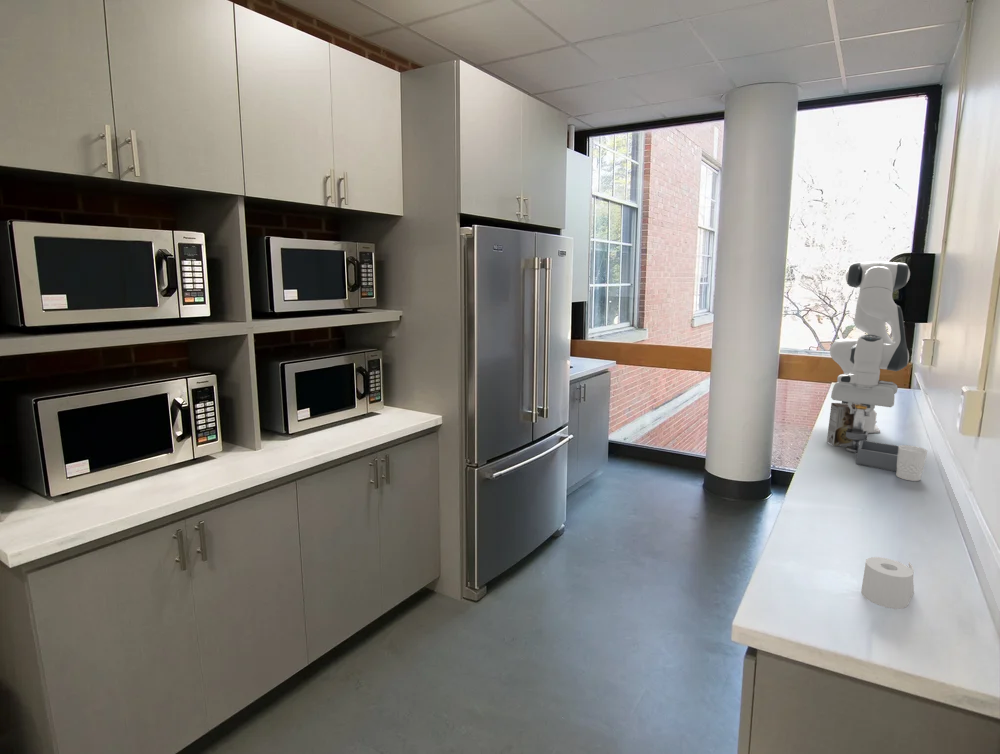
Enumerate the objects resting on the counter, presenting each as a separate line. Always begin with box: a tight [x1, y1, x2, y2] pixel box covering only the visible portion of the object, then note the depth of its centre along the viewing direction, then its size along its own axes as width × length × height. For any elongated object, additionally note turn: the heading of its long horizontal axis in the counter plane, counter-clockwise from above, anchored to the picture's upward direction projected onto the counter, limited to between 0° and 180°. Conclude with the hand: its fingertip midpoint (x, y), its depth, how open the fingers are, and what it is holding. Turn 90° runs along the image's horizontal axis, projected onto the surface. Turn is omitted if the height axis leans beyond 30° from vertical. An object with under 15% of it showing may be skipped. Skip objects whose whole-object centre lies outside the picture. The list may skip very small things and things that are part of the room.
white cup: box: [895, 444, 928, 482], centre depth 193 cm, size 8×8×10 cm
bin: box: [855, 440, 899, 472], centre depth 207 cm, size 15×15×6 cm
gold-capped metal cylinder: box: [851, 404, 867, 434], centre depth 220 cm, size 4×4×12 cm
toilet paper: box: [860, 556, 915, 610], centre depth 121 cm, size 8×11×7 cm
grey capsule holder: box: [845, 428, 869, 454], centre depth 221 cm, size 7×7×8 cm
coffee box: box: [826, 402, 856, 447], centre depth 229 cm, size 9×6×16 cm
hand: (859, 415), depth 219 cm, fingers closed on gold-capped metal cylinder, 4 cm apart
